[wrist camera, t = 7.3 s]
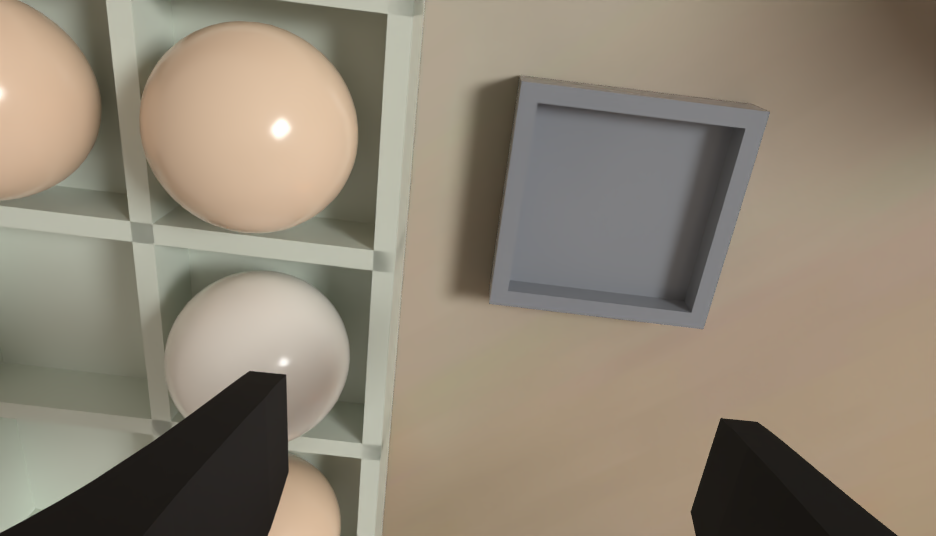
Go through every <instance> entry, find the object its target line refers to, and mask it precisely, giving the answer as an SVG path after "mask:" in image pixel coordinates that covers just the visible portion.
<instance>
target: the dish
mask: <svg viewBox="0 0 936 536" xmlns="http://www.w3.org/2000/svg"><path fill="white" fill-rule="evenodd" d="M769 114H770V112H769V111H767V110H764V109H762V108H760V107H758V106H756V105H753V104H746V103H738V102H730V101H722V100H714V99H706V98H698V97H690V96H682V95H674V94H666V93H658V92H650V91H642V90H634V89H626V88H618V87H610V86H602V85H594V84H586V83H578V82H570V81H562V80H554V79H546V78H538V77H530V76H522V75H520V78H519V85H518V92H517V99H516V106H515V113H514V120H513V126H512V133H511V140H510V147H509V154H508V161H507V168H506V175H505V182H504V189H503V196H502V203H501V210H500V217H499V224H498V231H497V238H496V245H495V252H494V259H493V265H492V272H491V279H490V286H489V304H496V305H505V306H513V307H521V308H530V309H538V310H547V311H555V312H563V313H572V314H580V315H589V316H597V317H605V318H614V319H622V320H631V321H639V322H647V323H656V324H664V325H673V326H681V327H689V328H698V329H704V326H705V322H706V319H707V316H708V312H709V309H710V306H711V303H712V299H713V296H714V293H715V290H716V286H717V283H718V280H719V277H720V273H721V270H722V267H723V264H724V260H725V257H726V254H727V251H728V247H729V244H730V241H731V238H732V234H733V231H734V228H735V225H736V221H737V218H738V215H739V211H740V208H741V205H742V202H743V198H744V195H745V192H746V189H747V185H748V182H749V179H750V176H751V172H752V169H753V166H754V163H755V159H756V156H757V153H758V150H759V146H760V143H761V140H762V137H763V133H764V130H765V127H766V124H767V120H768V117H769Z"/></svg>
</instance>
